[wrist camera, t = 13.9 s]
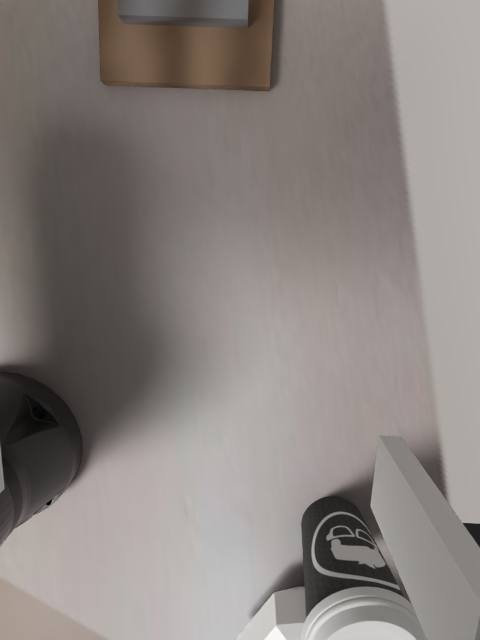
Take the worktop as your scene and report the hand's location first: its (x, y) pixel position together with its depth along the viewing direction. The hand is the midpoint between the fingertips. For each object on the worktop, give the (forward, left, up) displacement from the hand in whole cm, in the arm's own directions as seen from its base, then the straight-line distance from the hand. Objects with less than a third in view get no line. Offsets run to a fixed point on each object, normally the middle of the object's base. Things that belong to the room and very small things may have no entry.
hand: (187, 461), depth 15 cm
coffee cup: (+12, -23, -27) cm, 37 cm away
